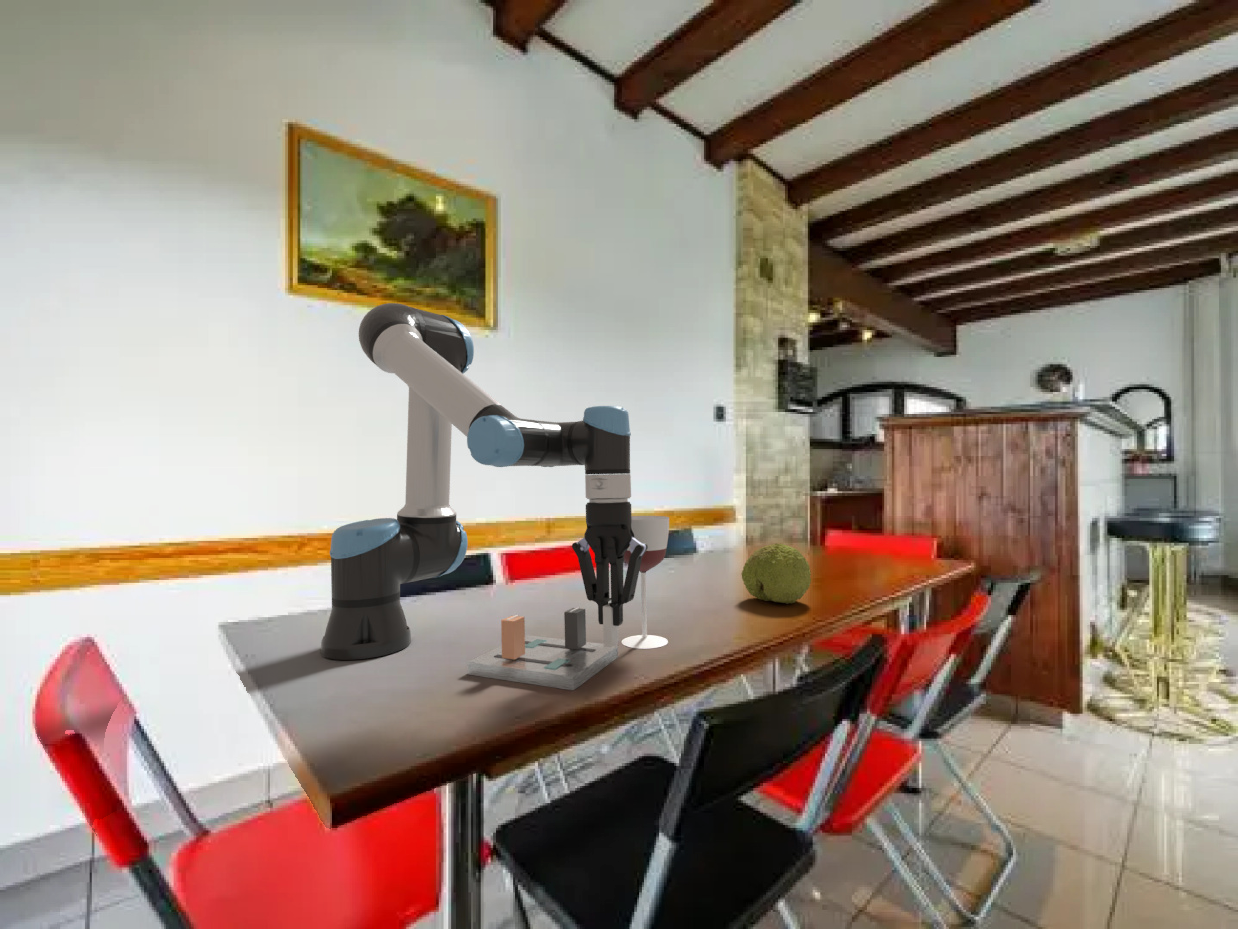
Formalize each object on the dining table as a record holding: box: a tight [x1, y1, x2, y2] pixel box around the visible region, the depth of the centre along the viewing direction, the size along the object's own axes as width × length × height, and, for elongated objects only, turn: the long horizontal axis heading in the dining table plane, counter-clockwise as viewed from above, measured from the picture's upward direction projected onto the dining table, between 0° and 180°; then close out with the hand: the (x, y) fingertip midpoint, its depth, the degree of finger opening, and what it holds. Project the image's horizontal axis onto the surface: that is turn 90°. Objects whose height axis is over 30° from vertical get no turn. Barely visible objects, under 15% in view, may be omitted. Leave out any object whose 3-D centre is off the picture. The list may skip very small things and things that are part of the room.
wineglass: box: [621, 515, 670, 650], centre depth 107 cm, size 9×10×23 cm
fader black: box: [563, 607, 587, 649], centre depth 97 cm, size 2×3×6 cm
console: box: [466, 634, 619, 691], centre depth 95 cm, size 19×16×2 cm
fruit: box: [740, 543, 812, 605], centre depth 137 cm, size 16×14×15 cm
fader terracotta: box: [500, 614, 526, 660], centre depth 92 cm, size 2×3×6 cm
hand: (611, 644), depth 94 cm, fingers closed
